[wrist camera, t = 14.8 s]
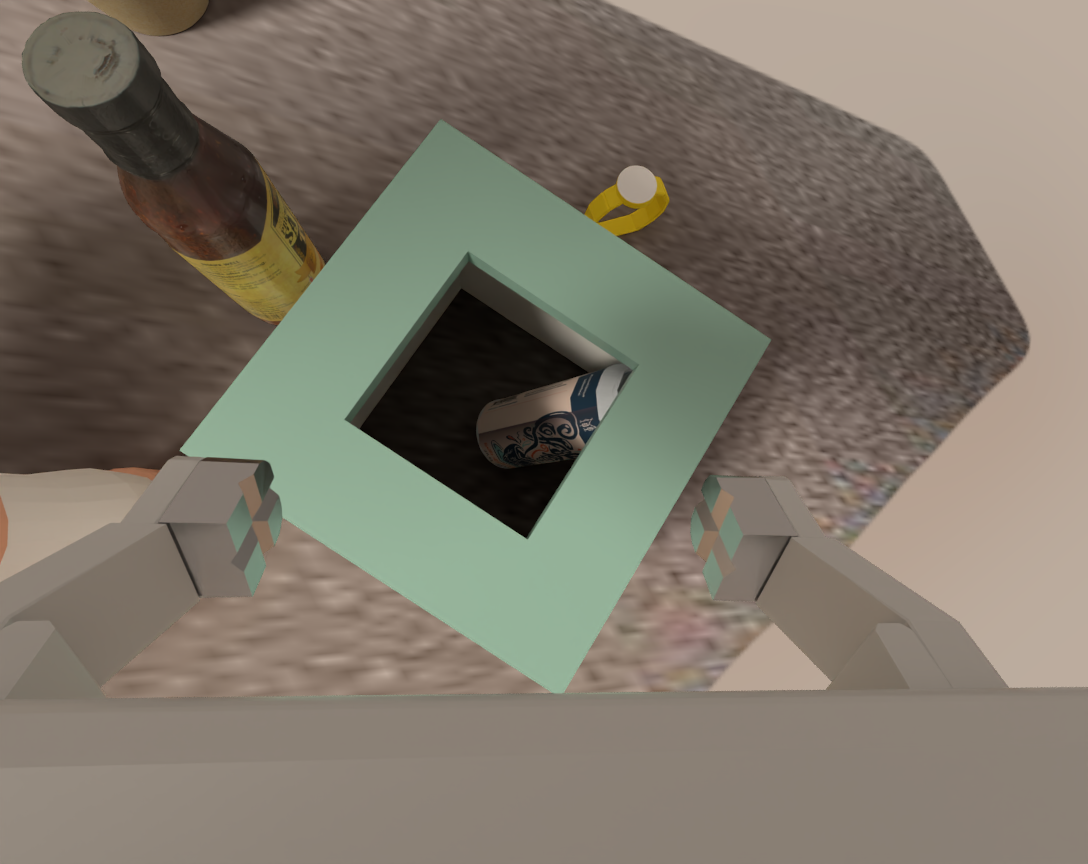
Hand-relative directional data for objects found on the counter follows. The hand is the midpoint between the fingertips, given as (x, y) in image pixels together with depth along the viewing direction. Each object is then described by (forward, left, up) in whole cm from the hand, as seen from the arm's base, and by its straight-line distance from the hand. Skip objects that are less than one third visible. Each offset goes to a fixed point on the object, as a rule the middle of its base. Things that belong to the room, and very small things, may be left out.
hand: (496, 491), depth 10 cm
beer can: (+4, +2, -27) cm, 27 cm away
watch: (+23, +3, -29) cm, 37 cm away
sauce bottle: (+5, +20, -29) cm, 35 cm away
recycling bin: (+4, +2, -28) cm, 29 cm away
